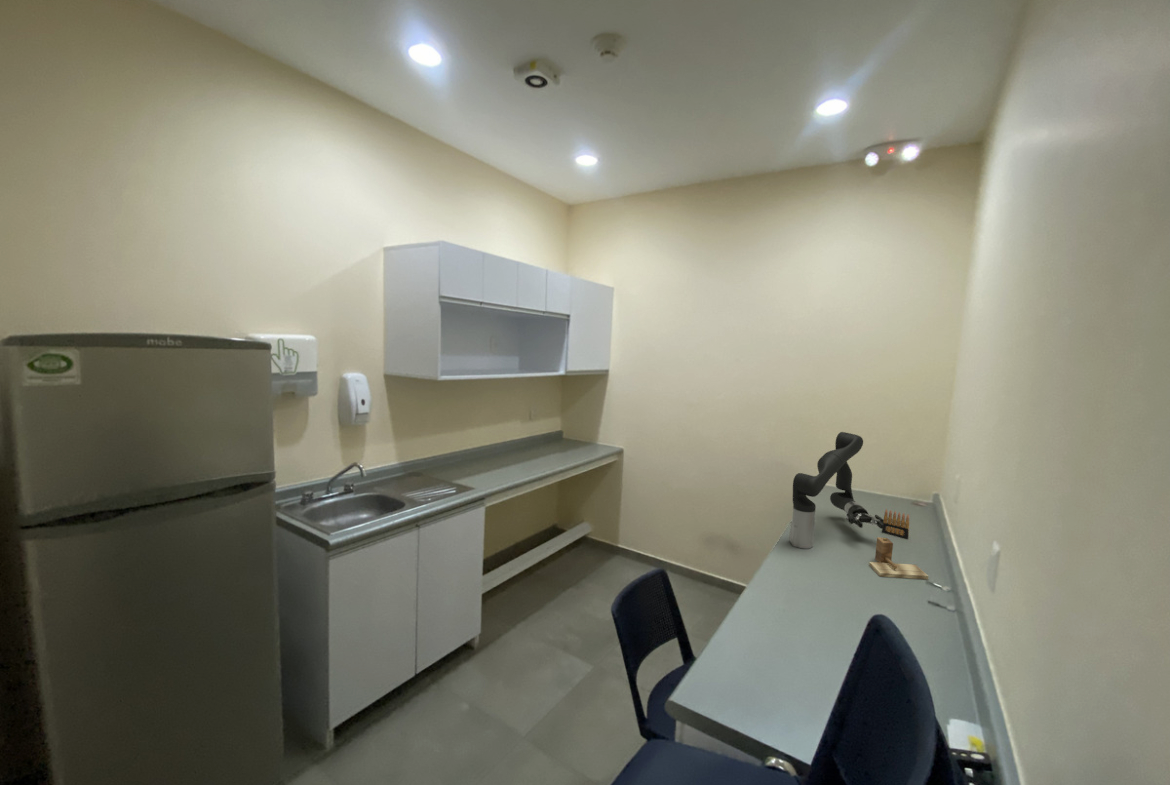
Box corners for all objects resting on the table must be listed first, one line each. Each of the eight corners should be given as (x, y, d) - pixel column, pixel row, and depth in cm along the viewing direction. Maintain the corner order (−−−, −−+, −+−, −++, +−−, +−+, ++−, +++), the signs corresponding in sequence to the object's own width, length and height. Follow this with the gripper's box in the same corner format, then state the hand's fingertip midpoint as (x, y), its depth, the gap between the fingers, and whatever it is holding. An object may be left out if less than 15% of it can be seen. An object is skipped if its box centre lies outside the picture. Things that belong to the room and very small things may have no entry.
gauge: (889, 574, 190) (892, 549, 188) (875, 559, 202) (877, 535, 201) (900, 574, 189) (903, 549, 188) (884, 559, 202) (887, 536, 200)
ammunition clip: (908, 538, 223) (910, 514, 221) (907, 539, 221) (910, 515, 220) (882, 531, 230) (884, 508, 228) (881, 532, 229) (883, 509, 227)
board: (879, 576, 188) (880, 572, 188) (869, 565, 197) (869, 561, 197) (928, 579, 186) (928, 575, 186) (915, 568, 195) (915, 564, 195)
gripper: (840, 503, 226) (855, 517, 210) (872, 505, 225) (889, 519, 209) (839, 518, 227) (854, 533, 212) (871, 519, 226) (888, 534, 210)
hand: (871, 526), depth 210 cm, fingers open, 8 cm apart
